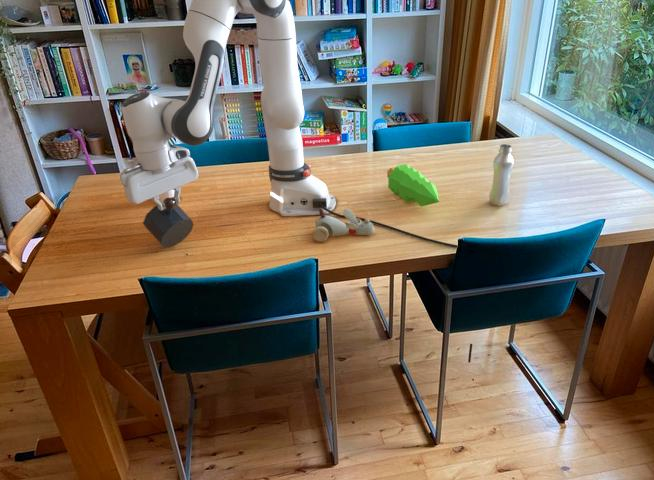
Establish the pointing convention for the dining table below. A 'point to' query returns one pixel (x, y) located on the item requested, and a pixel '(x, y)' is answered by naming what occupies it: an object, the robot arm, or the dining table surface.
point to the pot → (168, 223)
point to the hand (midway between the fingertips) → (170, 206)
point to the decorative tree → (411, 185)
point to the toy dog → (340, 226)
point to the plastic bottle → (501, 176)
